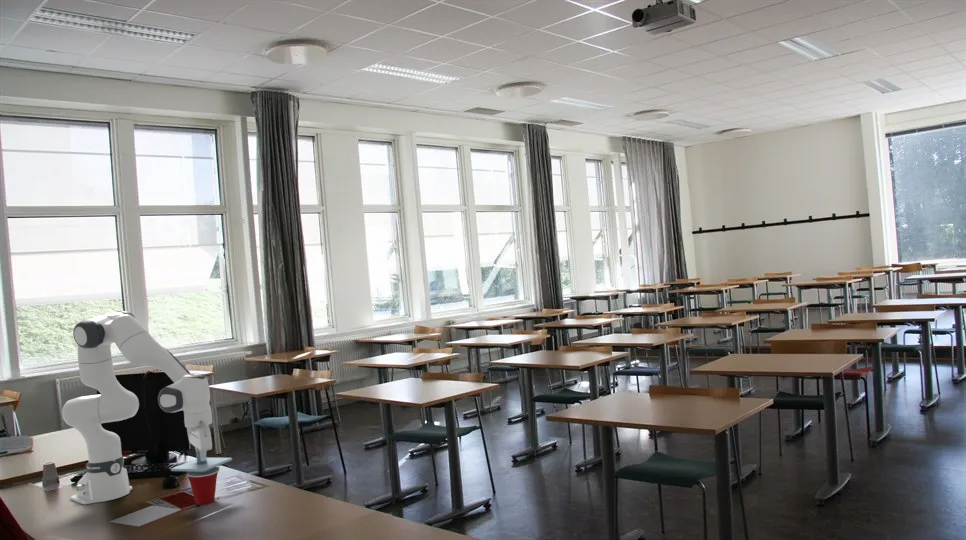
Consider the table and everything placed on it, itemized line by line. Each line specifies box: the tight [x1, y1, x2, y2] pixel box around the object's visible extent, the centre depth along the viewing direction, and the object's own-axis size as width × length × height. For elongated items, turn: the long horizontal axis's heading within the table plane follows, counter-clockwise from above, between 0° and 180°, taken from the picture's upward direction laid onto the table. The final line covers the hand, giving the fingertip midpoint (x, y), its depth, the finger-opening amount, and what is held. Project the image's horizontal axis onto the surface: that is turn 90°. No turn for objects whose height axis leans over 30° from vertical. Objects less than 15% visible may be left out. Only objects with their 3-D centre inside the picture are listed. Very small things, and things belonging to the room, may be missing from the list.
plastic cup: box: [186, 466, 220, 506], centre depth 240 cm, size 11×11×12 cm
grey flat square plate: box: [108, 505, 182, 528], centre depth 230 cm, size 16×16×1 cm
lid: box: [170, 451, 233, 472], centre depth 240 cm, size 14×14×5 cm
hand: (201, 459), depth 240 cm, fingers closed on lid, 3 cm apart
